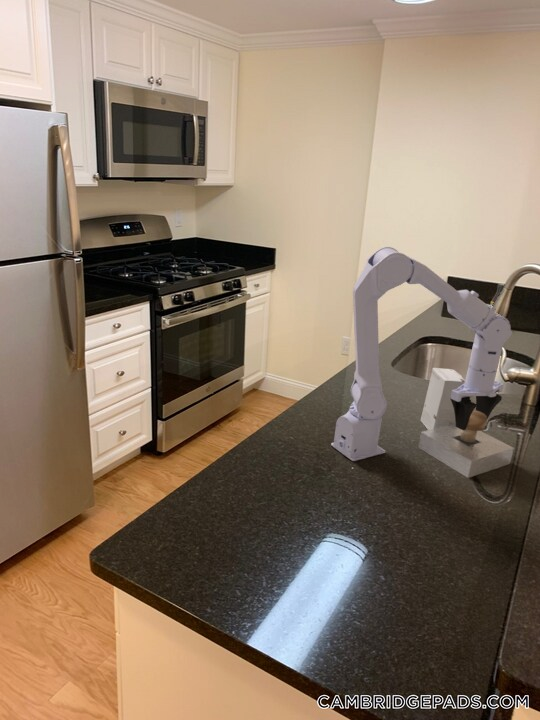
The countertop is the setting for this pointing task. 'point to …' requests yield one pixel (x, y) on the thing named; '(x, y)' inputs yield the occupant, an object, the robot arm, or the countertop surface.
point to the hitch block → (465, 450)
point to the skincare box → (440, 398)
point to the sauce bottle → (497, 292)
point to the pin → (473, 426)
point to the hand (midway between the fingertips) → (470, 425)
